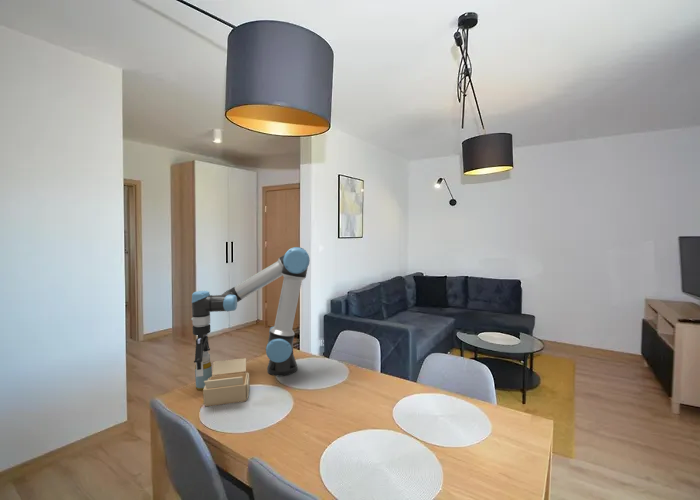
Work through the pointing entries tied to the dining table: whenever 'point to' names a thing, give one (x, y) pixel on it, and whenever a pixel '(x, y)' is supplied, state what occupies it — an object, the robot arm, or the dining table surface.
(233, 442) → the dining table surface
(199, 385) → the bottle
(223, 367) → the back flap
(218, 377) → the carton
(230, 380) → the front flap
